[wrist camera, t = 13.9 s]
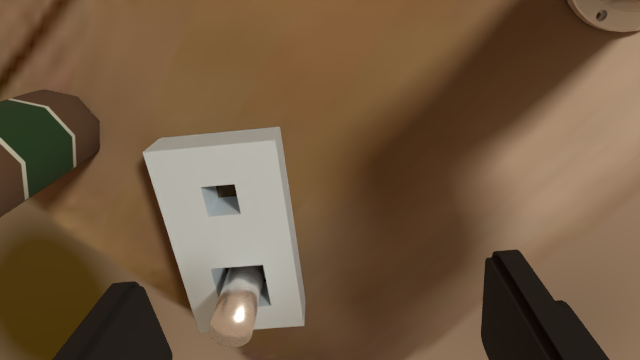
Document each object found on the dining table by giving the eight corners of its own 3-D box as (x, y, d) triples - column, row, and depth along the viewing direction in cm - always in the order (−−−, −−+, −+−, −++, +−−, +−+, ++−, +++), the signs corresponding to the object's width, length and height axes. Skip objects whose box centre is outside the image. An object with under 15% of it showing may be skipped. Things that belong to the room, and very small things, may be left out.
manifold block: (279, 126, 37) (275, 140, 34) (305, 300, 46) (304, 325, 43) (159, 137, 38) (142, 152, 34) (208, 307, 47) (199, 333, 43)
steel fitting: (263, 248, 43) (248, 313, 34) (268, 276, 45) (255, 345, 36) (228, 251, 43) (204, 316, 34) (235, 279, 45) (213, 348, 36)
